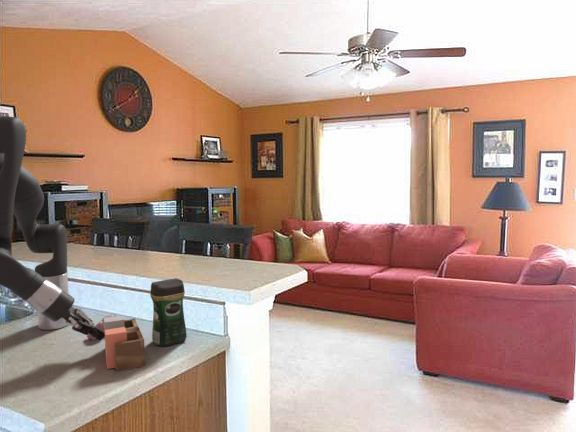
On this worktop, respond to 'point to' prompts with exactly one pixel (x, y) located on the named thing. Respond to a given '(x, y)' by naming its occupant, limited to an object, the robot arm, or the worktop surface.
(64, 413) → the worktop surface
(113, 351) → the salmon orange block
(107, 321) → the light grey block
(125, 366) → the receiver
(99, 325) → the video game controller
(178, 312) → the coffee jar
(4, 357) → the worktop surface
